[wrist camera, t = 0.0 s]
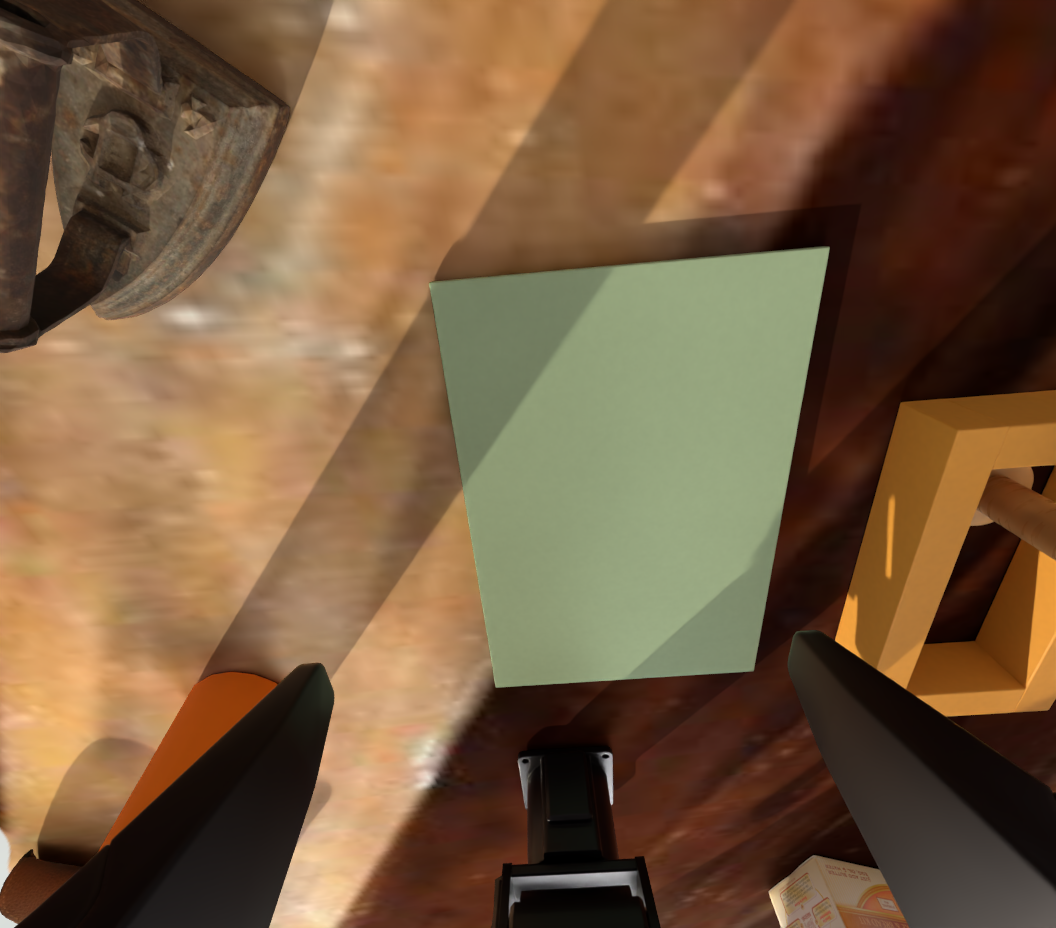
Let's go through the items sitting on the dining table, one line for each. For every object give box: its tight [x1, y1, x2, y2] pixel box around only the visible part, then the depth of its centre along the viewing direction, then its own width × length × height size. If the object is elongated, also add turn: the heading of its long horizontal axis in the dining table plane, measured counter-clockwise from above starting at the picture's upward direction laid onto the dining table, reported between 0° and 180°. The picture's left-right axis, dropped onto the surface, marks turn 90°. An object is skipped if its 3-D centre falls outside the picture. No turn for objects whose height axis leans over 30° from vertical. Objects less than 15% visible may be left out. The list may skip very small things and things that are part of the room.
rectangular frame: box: [835, 390, 1056, 716], centre depth 25 cm, size 18×10×3 cm, turn 5°
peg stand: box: [970, 467, 1056, 561], centre depth 22 cm, size 4×4×7 cm
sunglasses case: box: [0, 849, 82, 924], centre depth 40 cm, size 18×7×7 cm
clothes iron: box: [0, 0, 290, 353], centre depth 16 cm, size 7×11×10 cm, turn 148°
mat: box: [429, 246, 830, 687], centre depth 25 cm, size 24×16×1 cm, turn 5°
